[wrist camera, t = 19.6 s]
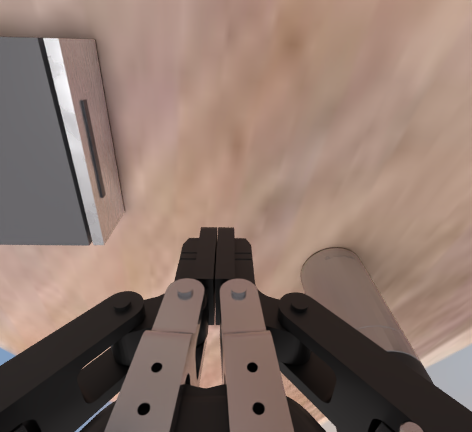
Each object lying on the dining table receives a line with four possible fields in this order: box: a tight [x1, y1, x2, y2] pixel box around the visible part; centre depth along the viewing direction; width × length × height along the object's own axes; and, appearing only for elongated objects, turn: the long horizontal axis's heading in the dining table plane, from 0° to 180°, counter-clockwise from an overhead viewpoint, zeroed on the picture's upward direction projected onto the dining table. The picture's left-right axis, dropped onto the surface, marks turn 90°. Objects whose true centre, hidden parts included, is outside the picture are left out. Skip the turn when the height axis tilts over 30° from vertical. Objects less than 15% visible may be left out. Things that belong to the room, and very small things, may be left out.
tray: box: [43, 38, 125, 245], centre depth 33 cm, size 18×20×8 cm
